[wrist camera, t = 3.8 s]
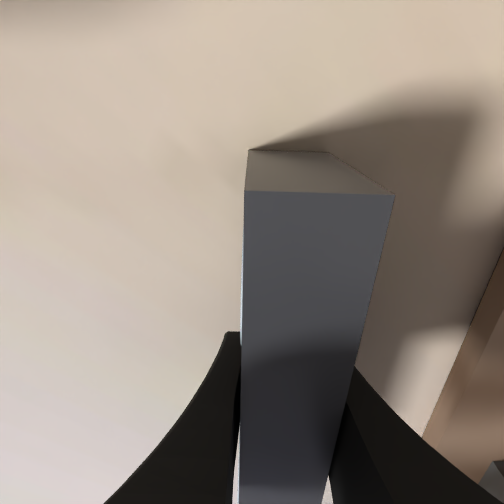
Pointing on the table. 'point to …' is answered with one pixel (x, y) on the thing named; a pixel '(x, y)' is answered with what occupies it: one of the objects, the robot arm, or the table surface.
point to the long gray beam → (301, 315)
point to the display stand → (476, 397)
